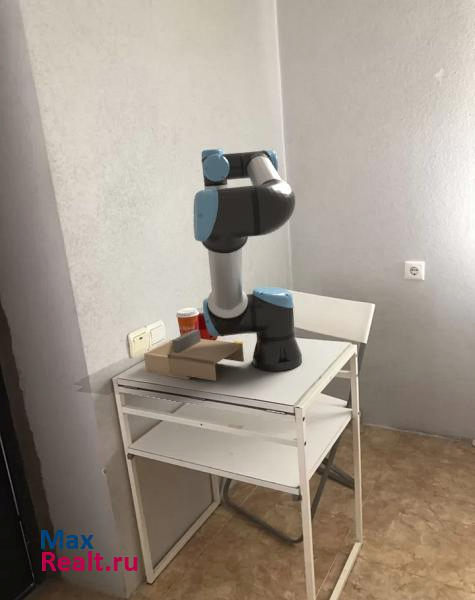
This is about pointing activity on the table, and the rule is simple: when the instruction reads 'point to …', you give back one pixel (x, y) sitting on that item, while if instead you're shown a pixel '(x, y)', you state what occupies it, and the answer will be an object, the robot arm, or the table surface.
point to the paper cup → (187, 320)
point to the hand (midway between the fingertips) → (223, 271)
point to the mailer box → (160, 360)
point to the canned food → (204, 326)
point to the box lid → (201, 355)
